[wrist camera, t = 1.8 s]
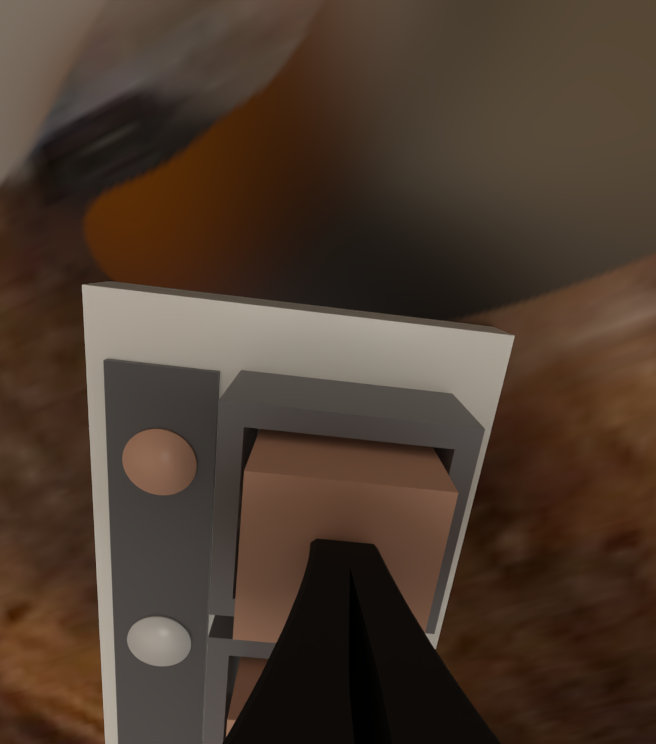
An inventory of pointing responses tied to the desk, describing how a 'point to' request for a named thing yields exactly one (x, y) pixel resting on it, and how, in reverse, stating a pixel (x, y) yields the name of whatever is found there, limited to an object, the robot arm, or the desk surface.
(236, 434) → the button board
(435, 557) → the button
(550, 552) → the desk surface
